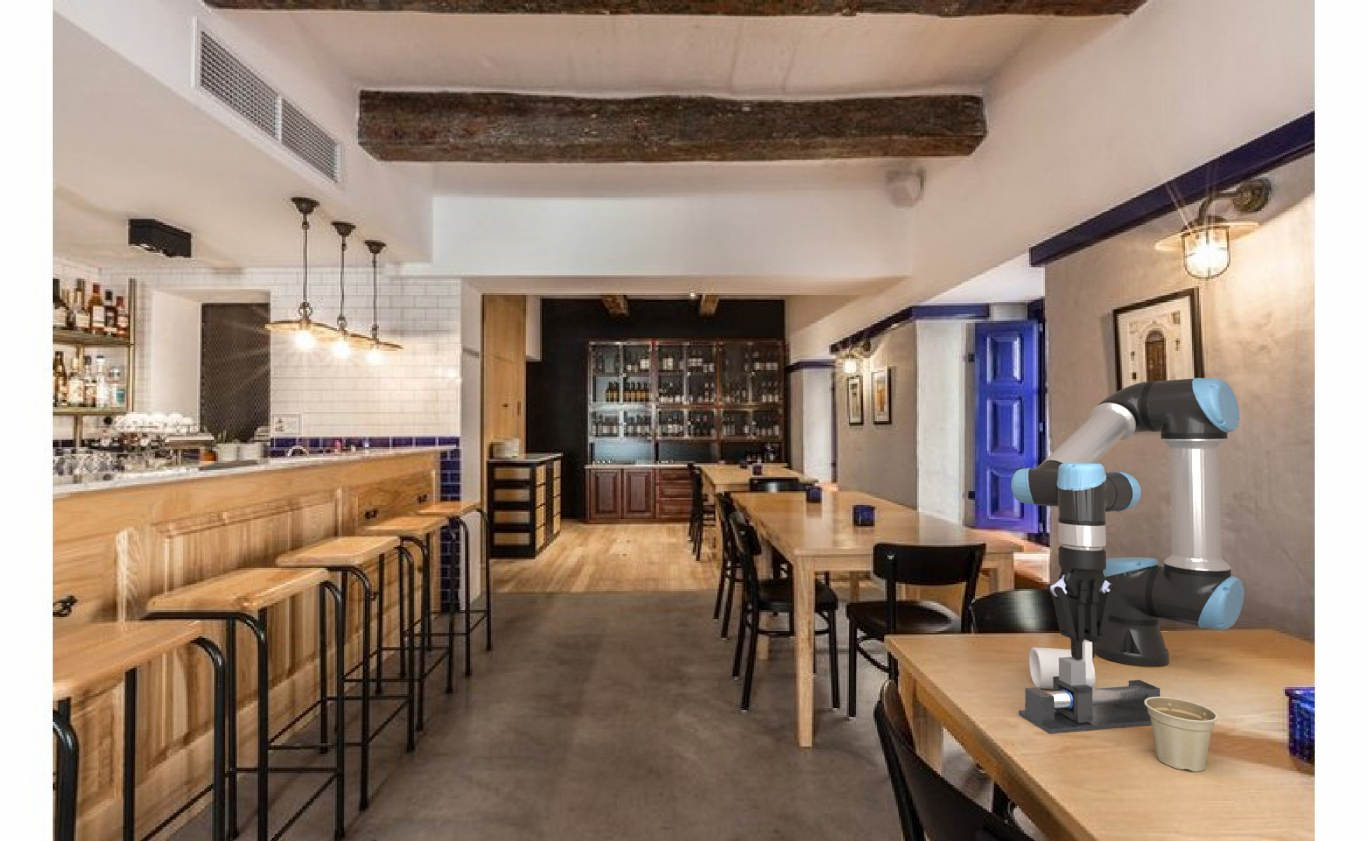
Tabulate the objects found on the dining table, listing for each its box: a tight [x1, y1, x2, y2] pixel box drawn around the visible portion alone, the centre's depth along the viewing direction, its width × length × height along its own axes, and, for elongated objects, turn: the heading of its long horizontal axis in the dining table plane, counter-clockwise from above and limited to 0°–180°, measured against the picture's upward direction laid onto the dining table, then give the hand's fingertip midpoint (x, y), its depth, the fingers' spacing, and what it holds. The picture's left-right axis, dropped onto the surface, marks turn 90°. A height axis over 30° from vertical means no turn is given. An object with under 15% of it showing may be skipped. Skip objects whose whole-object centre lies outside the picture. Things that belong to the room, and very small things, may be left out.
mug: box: [1028, 646, 1096, 690], centre depth 137 cm, size 12×10×8 cm
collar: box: [1052, 657, 1093, 723], centre depth 120 cm, size 3×6×10 cm, turn 10°
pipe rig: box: [1018, 679, 1161, 735], centre depth 121 cm, size 24×8×6 cm, turn 100°
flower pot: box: [1144, 696, 1219, 773], centre depth 105 cm, size 9×9×9 cm
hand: (1083, 675), depth 120 cm, fingers closed
